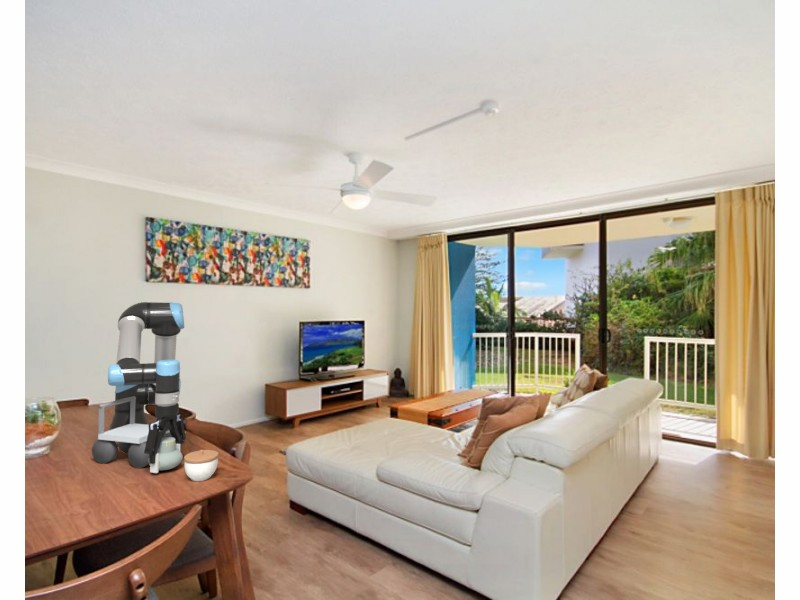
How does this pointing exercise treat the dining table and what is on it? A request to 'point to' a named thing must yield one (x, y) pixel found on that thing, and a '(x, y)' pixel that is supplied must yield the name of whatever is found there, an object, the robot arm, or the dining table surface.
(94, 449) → the trolley
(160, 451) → the air freshener
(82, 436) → the dining table surface
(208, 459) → the lidded jar
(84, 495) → the dining table surface
